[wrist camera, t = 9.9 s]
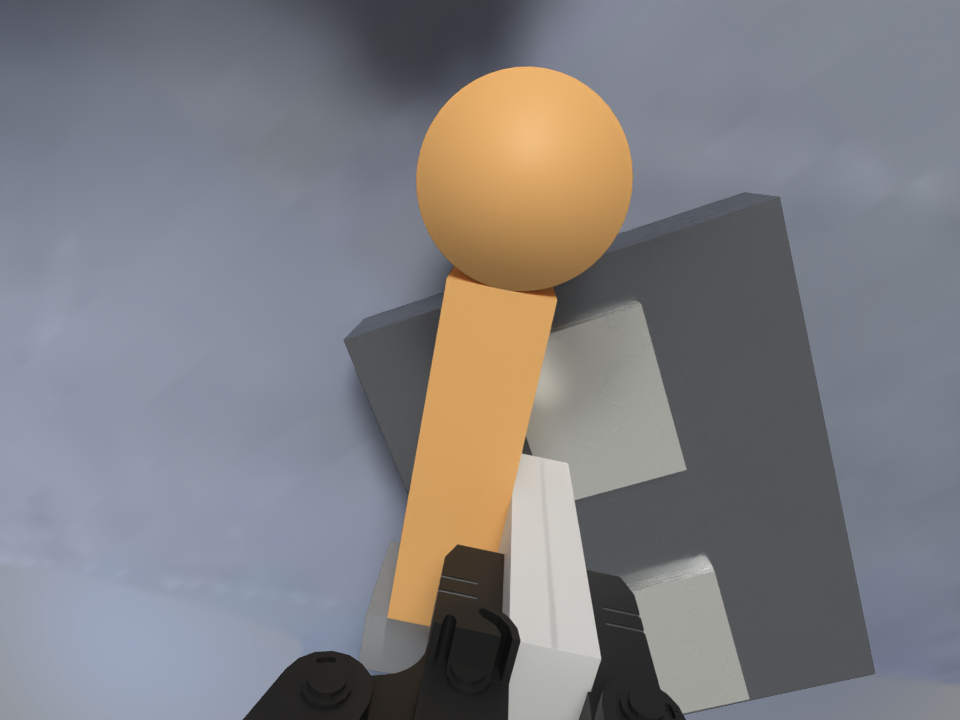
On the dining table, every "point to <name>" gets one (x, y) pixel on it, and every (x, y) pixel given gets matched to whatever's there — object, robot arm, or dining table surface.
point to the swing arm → (493, 313)
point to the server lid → (681, 448)
